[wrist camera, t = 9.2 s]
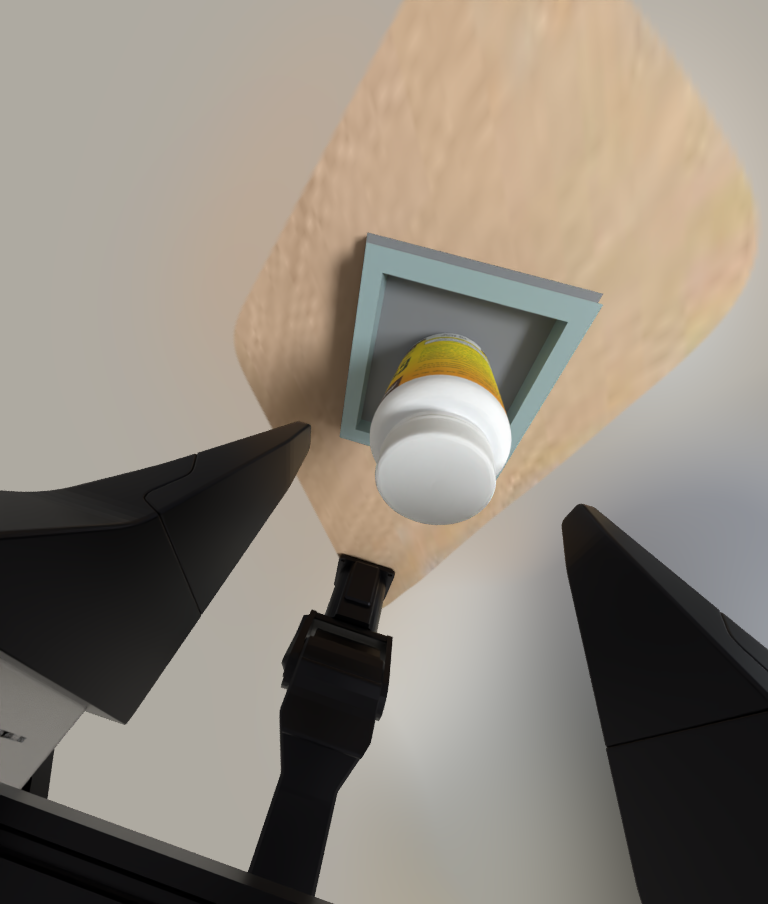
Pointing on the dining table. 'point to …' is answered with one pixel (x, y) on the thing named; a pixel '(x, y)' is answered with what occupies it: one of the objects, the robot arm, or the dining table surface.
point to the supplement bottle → (440, 432)
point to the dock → (460, 326)
